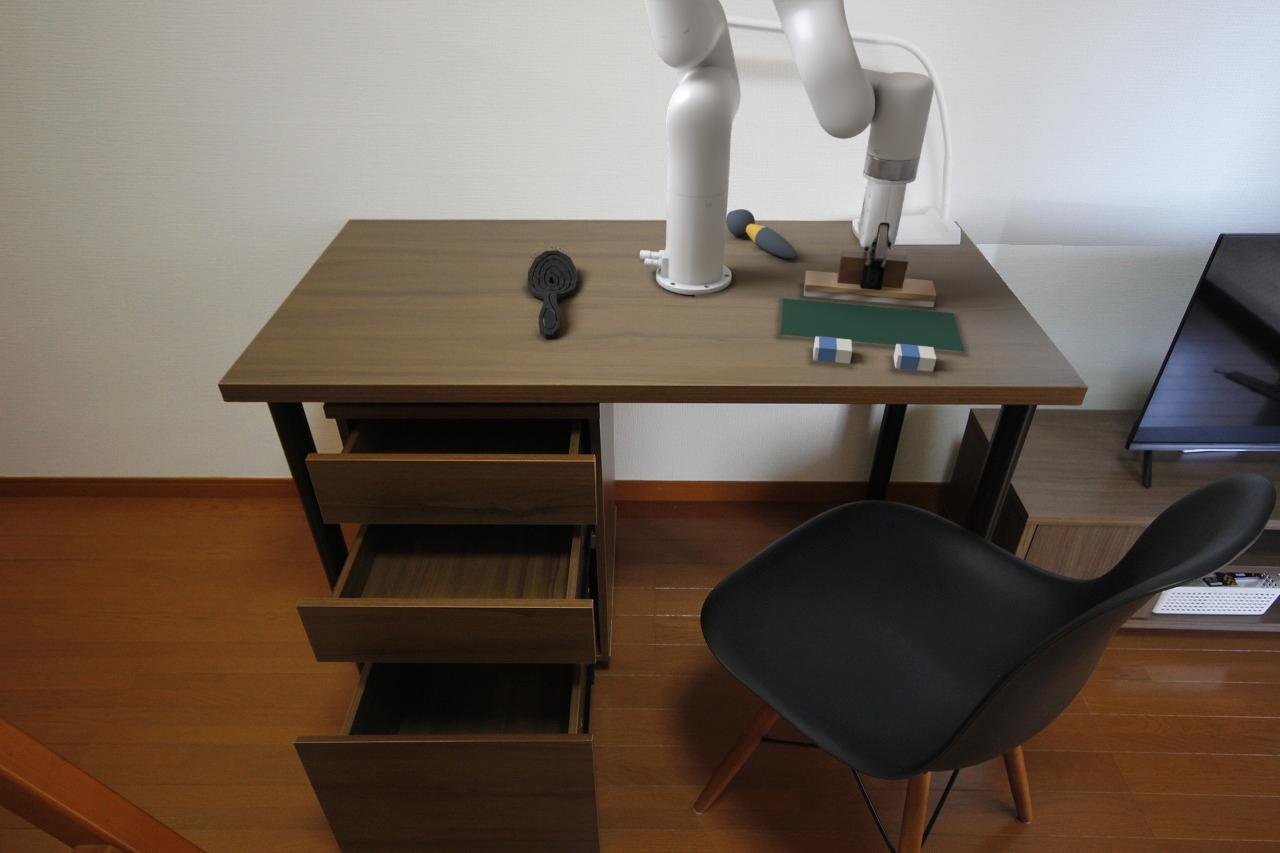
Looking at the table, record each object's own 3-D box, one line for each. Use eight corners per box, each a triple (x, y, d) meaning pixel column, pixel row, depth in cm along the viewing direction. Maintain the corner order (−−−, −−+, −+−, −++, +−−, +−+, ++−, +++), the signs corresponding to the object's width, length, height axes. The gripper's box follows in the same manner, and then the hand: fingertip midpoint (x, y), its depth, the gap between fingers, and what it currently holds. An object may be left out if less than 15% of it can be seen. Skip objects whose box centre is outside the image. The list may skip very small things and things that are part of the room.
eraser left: (812, 362, 109) (815, 347, 107) (813, 351, 111) (815, 335, 110) (849, 366, 108) (852, 350, 107) (848, 354, 111) (851, 338, 109)
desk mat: (779, 337, 115) (779, 334, 114) (782, 300, 124) (783, 298, 124) (964, 354, 111) (964, 351, 111) (952, 315, 120) (953, 313, 120)
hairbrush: (519, 323, 112) (527, 245, 131) (521, 344, 114) (529, 265, 134) (577, 321, 112) (577, 244, 132) (578, 343, 115) (577, 264, 134)
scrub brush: (803, 298, 125) (809, 257, 121) (803, 284, 129) (809, 244, 125) (933, 310, 122) (943, 268, 118) (929, 294, 126) (939, 254, 122)
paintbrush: (810, 258, 137) (813, 231, 134) (790, 266, 135) (793, 238, 132) (732, 225, 150) (734, 199, 147) (713, 231, 148) (714, 205, 145)
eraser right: (894, 370, 107) (898, 355, 106) (892, 358, 110) (896, 343, 108) (932, 374, 106) (936, 358, 105) (929, 362, 109) (933, 346, 108)
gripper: (861, 148, 120) (844, 259, 131) (867, 183, 107) (846, 303, 118) (912, 150, 119) (890, 262, 130) (923, 186, 106) (897, 308, 117)
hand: (869, 281), depth 124 cm, fingers open, 3 cm apart
